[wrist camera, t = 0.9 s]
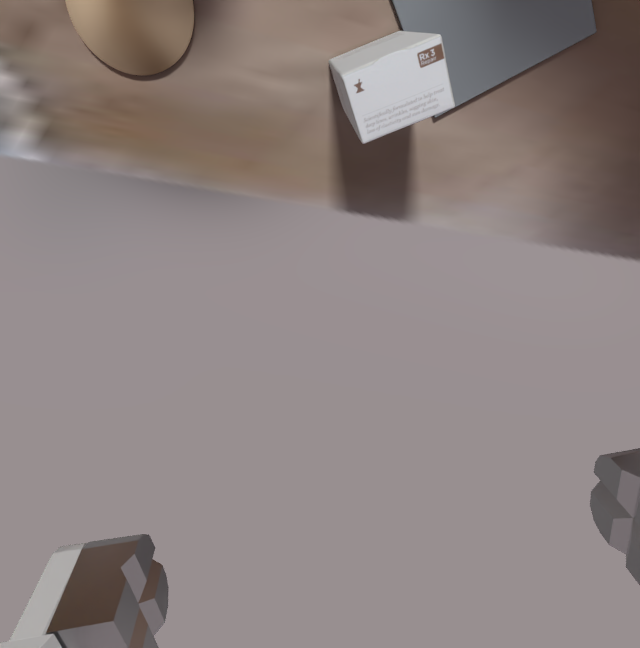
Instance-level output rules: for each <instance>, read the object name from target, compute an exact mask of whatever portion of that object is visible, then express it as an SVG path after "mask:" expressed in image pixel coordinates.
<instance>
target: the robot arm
mask: <svg viewBox="0 0 640 648" xmlns="http://www.w3.org/2000/svg"><path fill="white" fill-rule="evenodd" d="M594 473H595V475H596V476H597V477H598V478H599V479H600V480H601V481H600V482H599V483H598V484H597V485H596V486H595V488H594V489H593V490H592V491H591V500H590V507H591V511H592V515H593V519H594V521H595V523H596V526H597V527H598V529H599V531H600V533H601V534H602V536H603V537H604V538H605V540H606V541H607V543H608V544H609V545H610V546H612V547H614V548H616V549H618V550H619V551H621V552H623V553H625V554H626V568H627V569H628V570H629V572H630V573H631V574H632V576H633V577H634V578H635V580H636V581H637V582H638V584H639V585H640V448H638V449H633V450H628V451H622V452H617V453H611V454H606V455H601V456H599V458H598V459H597V461H596V462H595V468H594ZM154 551H155V546H154V544H153V542H152V540H151V538H150V536H149V535H146V534H141V535H134V536H127V537H120V538H113V539H106V540H100V541H93V542H88V543H82V544H75V545H69V546H62V547H60V548H59V549H58V550H57V551H55V552H54V553H53V554H52V556H51V558H50V560H49V562H48V564H47V566H46V568H45V570H44V572H43V574H42V576H41V578H40V580H39V582H38V584H37V586H36V588H35V590H34V592H33V594H32V596H31V598H30V600H29V602H28V604H27V606H26V608H25V610H24V612H23V614H22V616H21V618H20V621H19V622H18V624H17V626H16V628H15V630H14V632H13V634H12V636H11V638H10V641H7V642H2V643H0V648H158V646H157V643H156V641H155V639H154V635H155V634H156V633H157V632H158V630H159V629H160V628H161V626H162V625H163V624H164V623H165V619H166V614H167V608H168V583H167V577H166V573H165V571H164V568H163V566H162V565H161V564H160V563H158V562H156V561H155V560H153V559H152V558H153V554H154Z"/></svg>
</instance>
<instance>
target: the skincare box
mask: <svg viewBox="0 0 640 648" xmlns="http://www.w3.org/2000/svg"><path fill="white" fill-rule="evenodd" d="M329 65H330V68H331V72H332V75H333V78H334V82H335V85H336V88H337V91H338V95H339V98H340V101H341V104H342V107H343V110H344V112H345V113H346V115H347V117H348V119H349V121H350V123H351V124H352V126H353V128H354V130H355V132H356V134H357V135H358V137H359V139H360V141H361V142H362V143H363V144H365V143H367V142H370V141H372V140H375V139H377V138H380V137H382V136H385V135H387V134H389V133H392V132H394V131H397V130H399V129H402V128H404V127H407V126H409V125H412V124H414V123H417V122H419V121H422V120H424V119H427V118H429V117H432V116H434V115H437V114H439V113H442V112H444V111H446V110H449V109H451V108H454V107H455V103H454V98H453V93H452V88H451V83H450V79H449V74H448V68H447V63H446V58H445V52H444V47H443V42H442V37H441V35H440V34H432V33H420V32H407V31H397V32H395V33H393V34H390V35H388V36H385V37H383V38H380V39H378V40H375V41H373V42H371V43H368V44H366V45H363V46H361V47H359V48H356V49H354V50H351V51H349V52H347V53H344V54H342V55H339V56H337V57H334V58H332V59H330V60H329Z"/></svg>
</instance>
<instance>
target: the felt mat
mask: <svg viewBox="0 0 640 648" xmlns="http://www.w3.org/2000/svg"><path fill="white" fill-rule="evenodd" d="M392 2H393V5H394V8H395V10H396V13H397V16H398V19H399V22H400V24H401V27H402V30H403V31H407V32H420V33H432V34H440V35H441V37H442V42H443V47H444V52H445V58H446V63H447V68H448V74H449V79H450V83H451V88H452V93H453V98H454V103H455V107H456V106H458V105H460V104H462V103H464V102H466V101H468V100H469V99H471V98H473V97H475V96H477V95H479V94H481V93H483V92H485V91H486V90H488V89H490V88H492V87H494V86H496V85H498V84H500V83H502V82H503V81H505V80H507V79H509V78H511V77H513V76H515V75H517V74H519V73H520V72H522V71H524V70H526V69H528V68H530V67H532V66H534V65H536V64H537V63H539V62H541V61H543V60H545V59H547V58H549V57H551V56H553V55H554V54H556V53H558V52H560V51H562V50H564V49H566V48H568V47H569V46H571V45H573V44H575V43H577V42H579V41H581V40H583V39H585V38H586V37H588V36H590V35H592V34H594V33H596V32H597V31H596V25H595V19H594V13H593V7H592V0H392ZM451 109H453V108H451ZM451 109H449V110H451ZM449 110H446V111H444V112H442V113H439V114H437V115H434V117H435V118H436V117H437V116H439V115H441V114H443V113H445V112H447V111H449Z"/></svg>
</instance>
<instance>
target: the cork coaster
mask: <svg viewBox="0 0 640 648" xmlns="http://www.w3.org/2000/svg"><path fill="white" fill-rule="evenodd" d="M65 1H66V5H67V9H68V13H69V15H70V18H71V21H72V23H73V25H74V27H75V29H76V31H77V33H78V34H79V36H80V37H81V39H82V40H83V42H84V43H85V44H86V46H87V47H88V48H89V49H90V50H91V51H92V52H93V53H94V54H95V55H96V56H97V57H98V58H99V59H101V60H102V61H103V62H105V63H106V64H108V65H109V66H111V67H113V68H115V69H117V70H119V71H122V72H124V73H128V74H132V75H140V76H141V75H152V74H157V73H159V72H162V71H164V70H166V69H168V68H170V67H171V66H172V65H174V64H175V63H176V62H177V61H178V60H179V59H180V58H181V57H182V55H183V54H184V53H185V51H186V49H187V47H188V45H189V43H190V40H191V37H192V33H193V28H194V4H193V0H65Z"/></svg>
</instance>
